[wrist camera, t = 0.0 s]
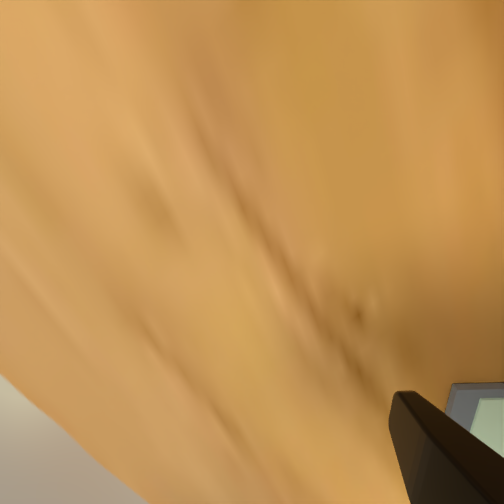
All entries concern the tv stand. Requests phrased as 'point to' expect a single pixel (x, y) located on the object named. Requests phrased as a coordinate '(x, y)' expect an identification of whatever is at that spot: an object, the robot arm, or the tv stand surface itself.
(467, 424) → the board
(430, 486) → the robot arm
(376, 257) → the tv stand surface
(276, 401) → the tv stand surface
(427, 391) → the tv stand surface
